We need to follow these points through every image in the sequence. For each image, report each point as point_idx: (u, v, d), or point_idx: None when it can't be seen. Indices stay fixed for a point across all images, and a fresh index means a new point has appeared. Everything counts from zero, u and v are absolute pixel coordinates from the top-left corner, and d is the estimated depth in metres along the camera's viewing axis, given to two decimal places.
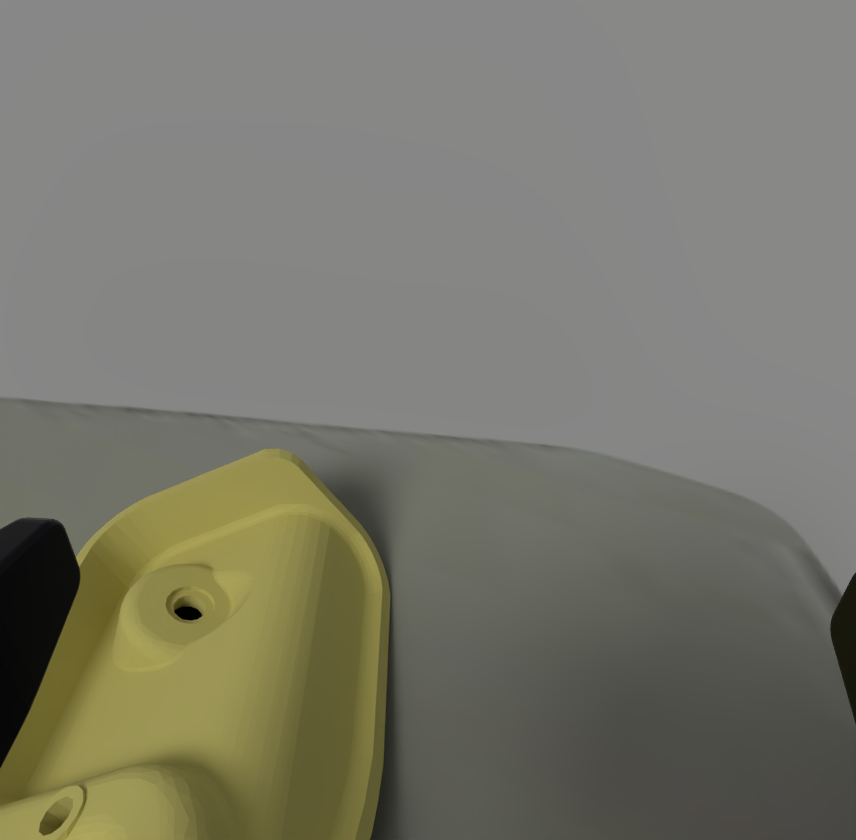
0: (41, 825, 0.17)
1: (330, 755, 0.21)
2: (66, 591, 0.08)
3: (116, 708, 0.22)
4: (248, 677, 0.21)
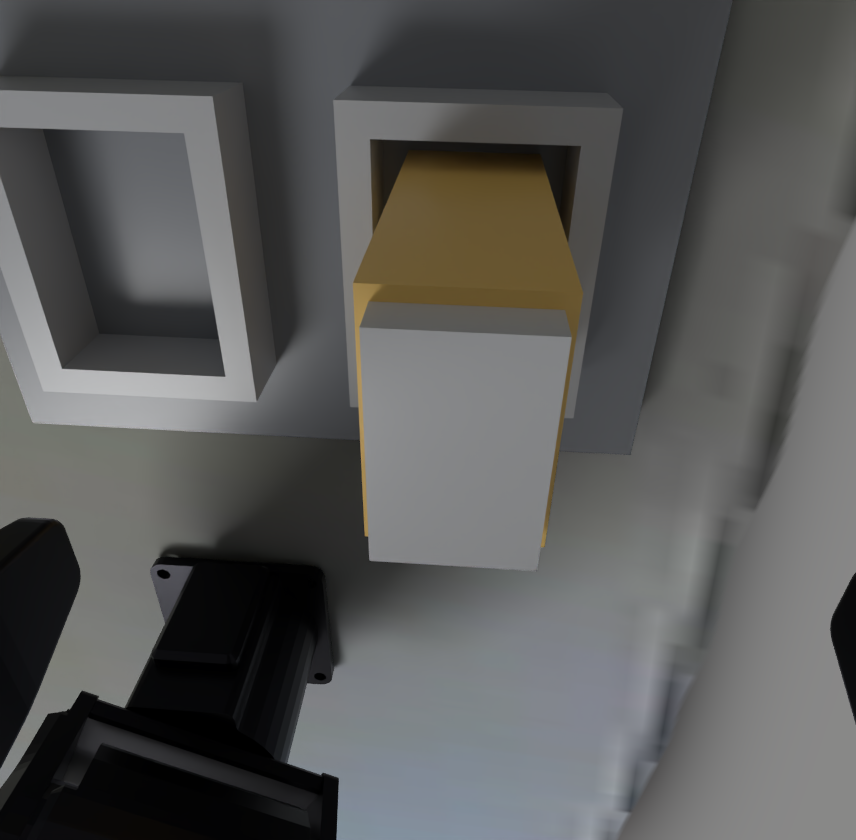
0: None
1: None
2: (66, 591, 0.08)
3: None
4: None
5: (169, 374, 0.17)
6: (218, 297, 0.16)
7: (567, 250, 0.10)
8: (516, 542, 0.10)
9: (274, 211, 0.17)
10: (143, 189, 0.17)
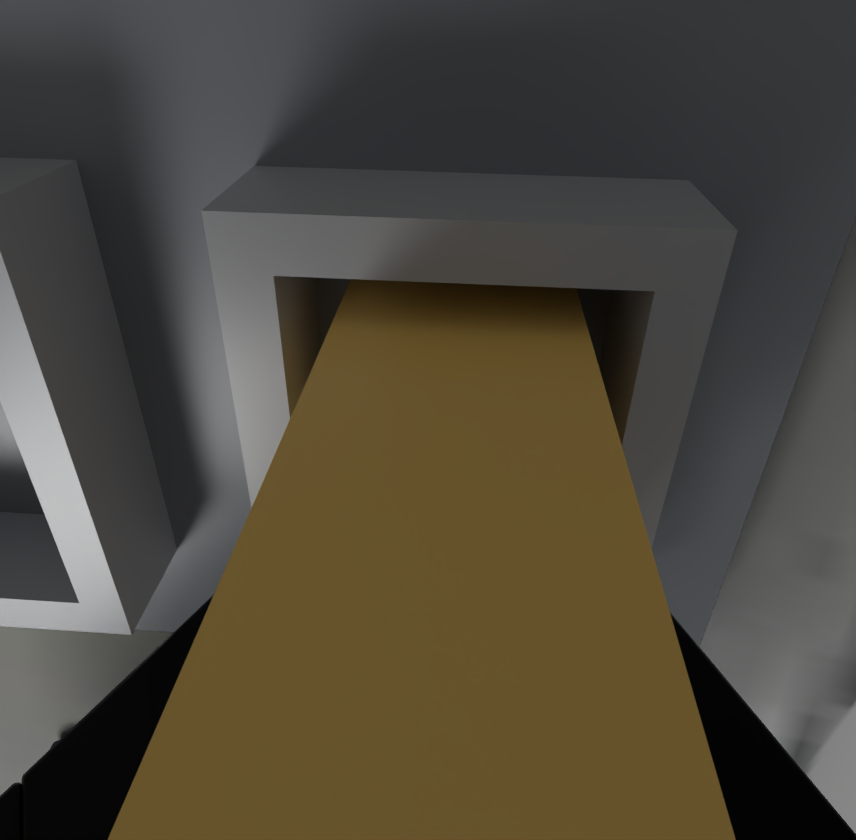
0: None
1: None
2: None
3: None
4: None
5: None
6: (49, 502, 0.10)
7: (679, 668, 0.04)
8: None
9: (150, 351, 0.11)
10: None
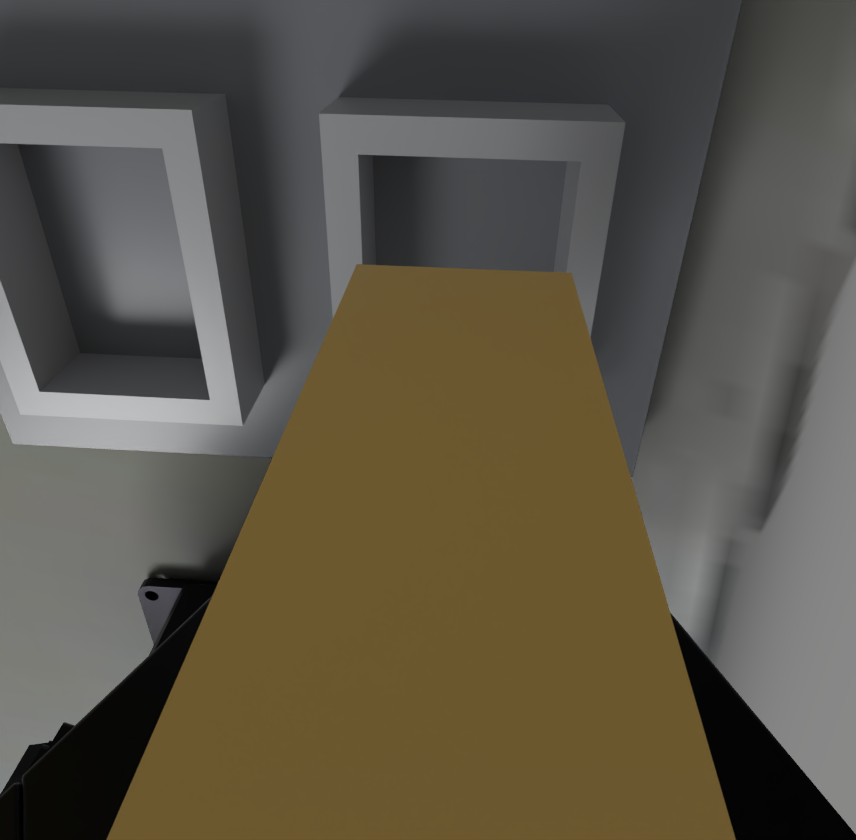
0: None
1: None
2: None
3: None
4: None
5: (151, 397, 0.16)
6: (201, 318, 0.15)
7: (679, 667, 0.04)
8: None
9: (260, 227, 0.16)
10: (123, 204, 0.16)
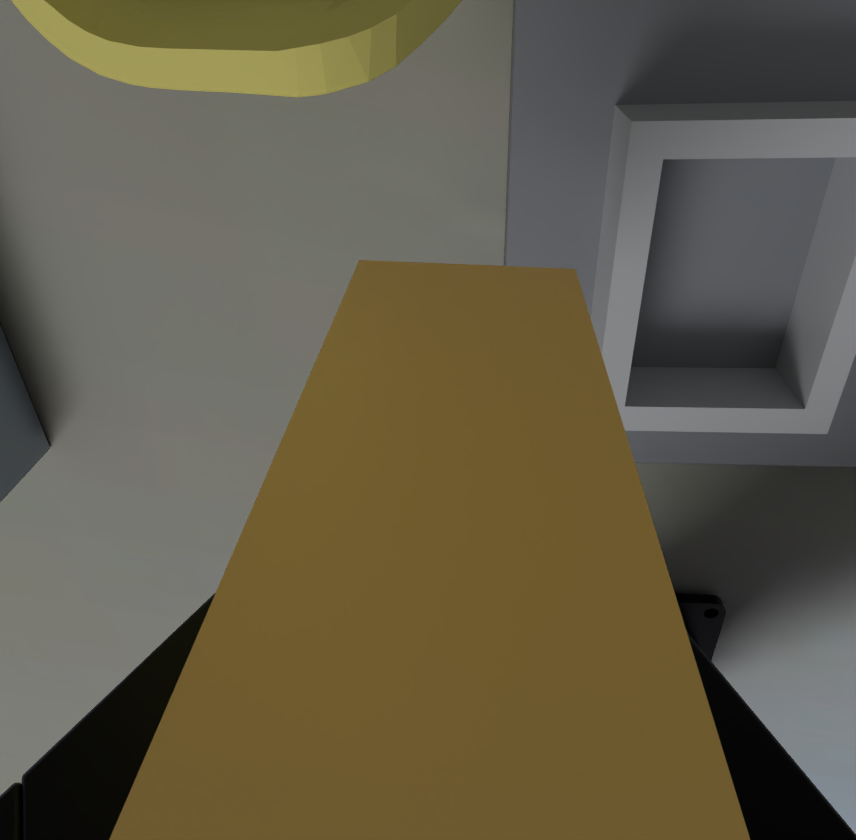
0: None
1: None
2: None
3: None
4: None
5: (743, 408, 0.16)
6: (839, 327, 0.15)
7: (688, 661, 0.04)
8: None
9: None
10: (725, 216, 0.16)
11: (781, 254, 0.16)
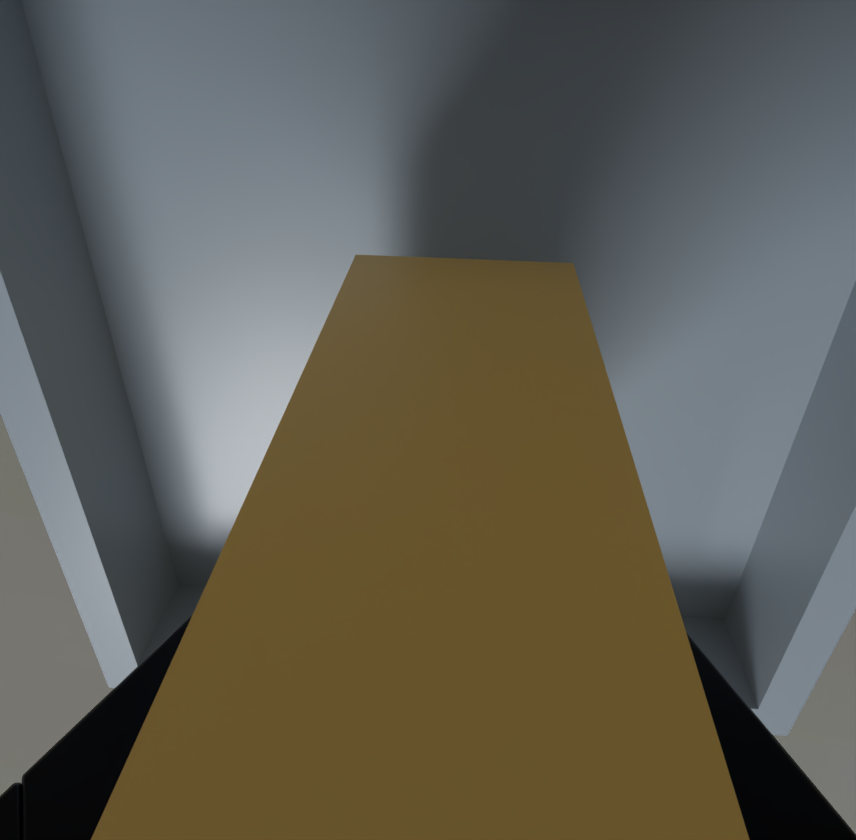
0: None
1: None
2: None
3: None
4: None
5: None
6: None
7: (686, 655, 0.04)
8: None
9: None
10: None
11: None
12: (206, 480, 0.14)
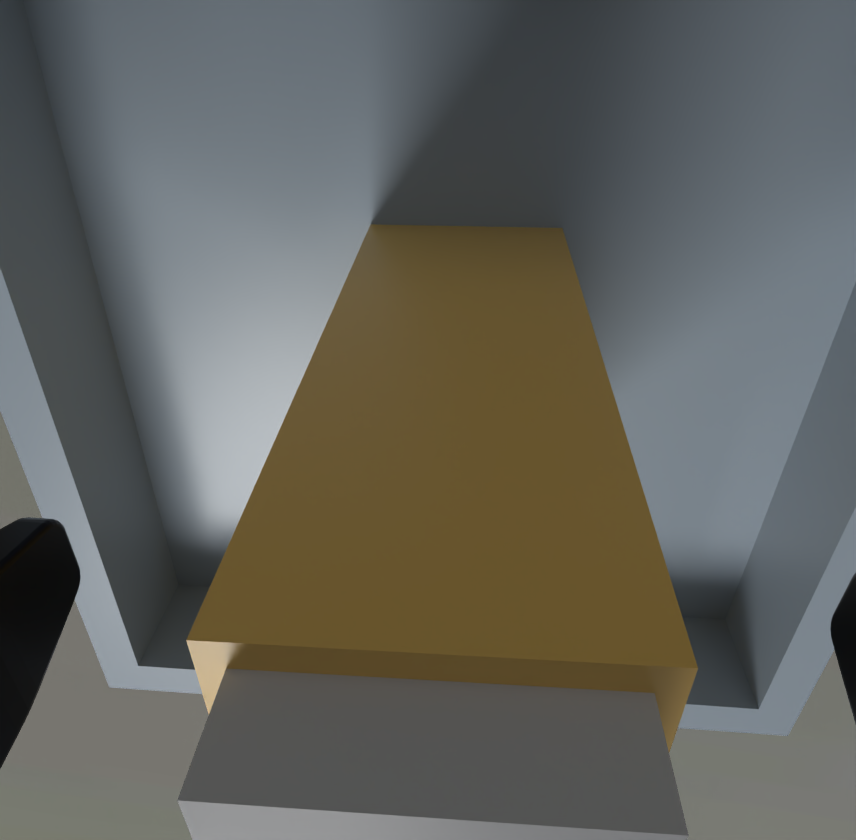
0: None
1: None
2: (66, 591, 0.08)
3: None
4: None
5: None
6: None
7: (638, 490, 0.05)
8: None
9: None
10: None
11: None
12: (207, 480, 0.14)
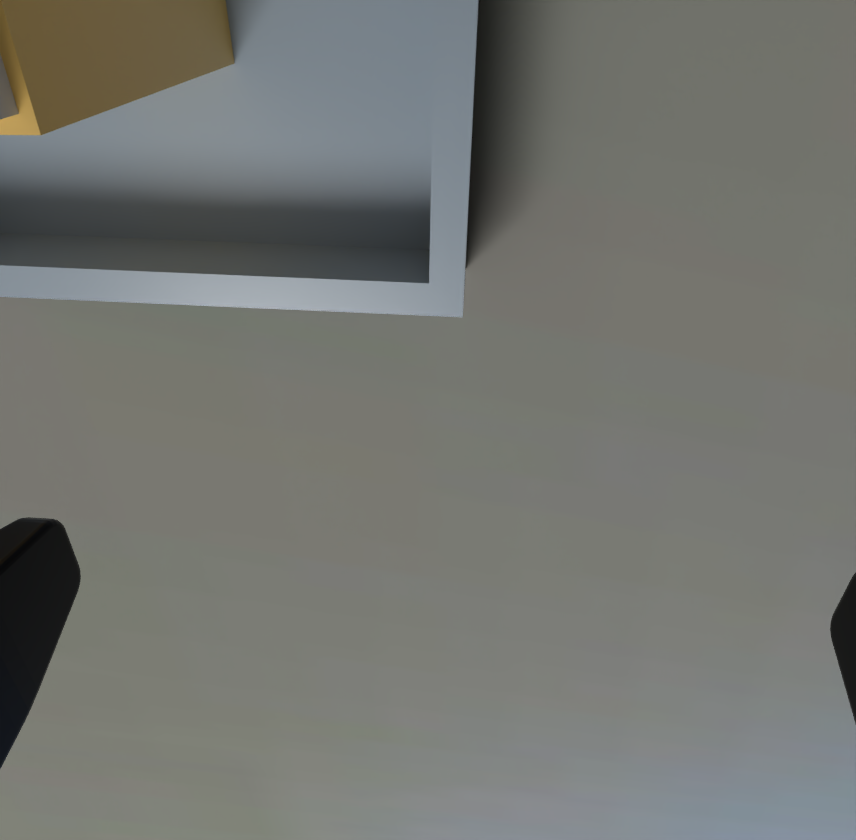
0: None
1: None
2: (66, 591, 0.08)
3: None
4: None
5: None
6: None
7: None
8: None
9: None
10: None
11: None
12: None
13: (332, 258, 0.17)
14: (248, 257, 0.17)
